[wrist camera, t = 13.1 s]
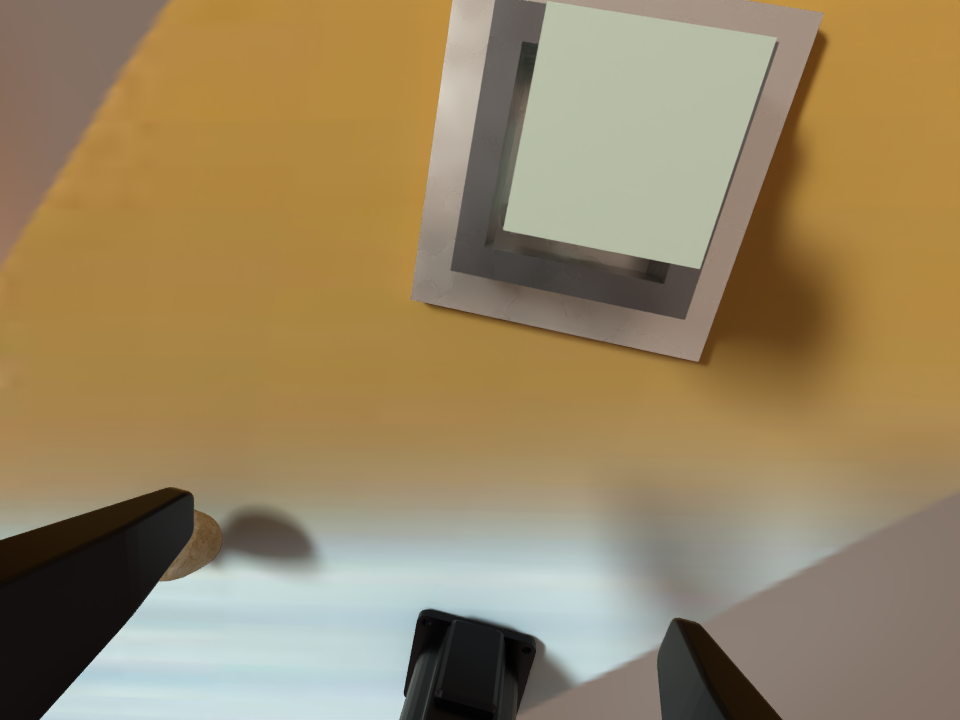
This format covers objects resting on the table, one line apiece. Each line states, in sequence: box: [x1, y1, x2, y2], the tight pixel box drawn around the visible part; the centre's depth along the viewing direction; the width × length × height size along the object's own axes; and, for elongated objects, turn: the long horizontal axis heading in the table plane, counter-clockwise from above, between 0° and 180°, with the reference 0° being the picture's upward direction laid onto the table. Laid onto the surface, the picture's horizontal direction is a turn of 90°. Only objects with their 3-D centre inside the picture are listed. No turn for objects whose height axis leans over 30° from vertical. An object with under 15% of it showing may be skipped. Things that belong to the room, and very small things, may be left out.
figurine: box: [159, 510, 222, 581], centre depth 25 cm, size 4×5×15 cm
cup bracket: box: [411, 0, 824, 362], centre depth 16 cm, size 12×12×4 cm
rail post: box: [503, 1, 777, 269], centre depth 13 cm, size 4×4×9 cm
